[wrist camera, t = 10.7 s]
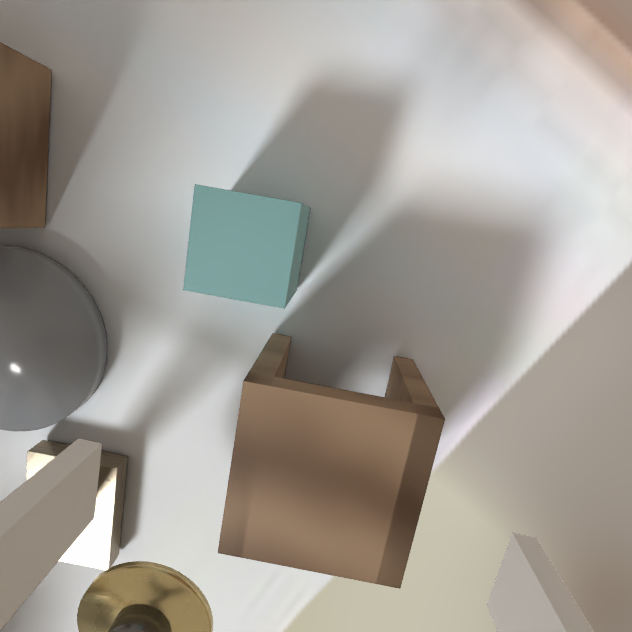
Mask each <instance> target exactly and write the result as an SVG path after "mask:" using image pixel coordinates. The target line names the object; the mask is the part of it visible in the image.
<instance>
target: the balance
mask: <svg viewBox="0 0 632 632" xmlns="http://www.w3.org/2000/svg"><path fill="white" fill-rule="evenodd" d="M68 446H70V445H66V444H61V443H56V442H51V441H46V440H42V441H41V442H40V443H38V444H37V445H35V446H34V447H33V448H31V449H30V450H29V451H28V456H27V480H28V479H29V478H31V477H32V476H33V475H34V474H35V473H37V472H38V471H39V470H40V469H42V468H43V467H44V466H45V465H46V464H48V463H49V462H50V461H51V460H53V459H54V458H55V457H56V456H57V455H59V454H60V453H61V452H62V451H64V450H65V449H66V448H67V447H68ZM127 462H128V456H123V455H118V454H113V453H108V452H103V451H101V458H100V468H99V478H98V488H97V498H96V508H95V518H94V519H93V520H92V522H91V523H90V524H89V525H88V526H87V528H86V529H85V530H84V531H83V532H82V533H81V535H80V536H79V537H78V538H77V539H76V541H75V542H74V543H73V544H72V545H71V547H70V548H69V549H68V550H67V551H66V553H65V554H64V555H63V556H62V557H61V559H60V560H59V561H62V562H67V563H73V564H78V565H83V566H88V567H93V568H98V569H103V570H106V571H104V572H103V573H101V574H100V575H99V576H98V577H97V578H96V579H95V580H94V581H93V583H92V584H91V585H90V587H89V588H88V590H87V591H86V593H85V594H84V596H83V598H82V599H81V601H80V605H79V608H78V614H77V623H78V630H79V632H212V631H213V616H212V612H211V608H210V606H209V603H208V601H207V599H206V598H205V596H204V594H203V593H202V592H201V590H200V589H199V588H198V587H197V586H196V585H195V584H194V583H193V582H192V581H191V580H190V579H189V578H187V577H186V576H184V575H183V574H181V573H180V572H178V571H176V570H174V569H172V568H170V567H167V566H164V565H161V564H157V563H152V562H142V561H136V562H127V563H122V564H119V565H116V566H113V567H111V566H112V564H113V563H114V561H115V560H116V558H117V557H118V555H119V548H120V538H121V527H122V516H123V505H124V494H125V483H126V473H127ZM110 567H111V568H110Z"/></svg>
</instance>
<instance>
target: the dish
mask: <svg viewBox="0 0 632 632" xmlns="http://www.w3.org/2000/svg"><path fill="white" fill-rule="evenodd" d="M106 358H107V340H106V332H105V328H104V324H103V320H102V318H101V315H100V313H99V310H98V308H97V306H96V304H95V302H94V300H93V298H92V297H91V295H90V294H89V293H88V291H87V290H86V288H85V287H84V286H83V285H82V283H81V282H80V281H79V280H78V279H77V278H76V277H75V276H74V275H73V274H72V273H71V272H70V271H68V270H67V269H66V268H65V267H63V266H62V265H61V264H59V263H58V262H56V261H55V260H53V259H51V258H49V257H47V256H45V255H43V254H41V253H38V252H36V251H33V250H29V249H25V248H22V247H15V246H0V429H2V430H9V431H30V430H37V429H41V428H45V427H48V426H50V425H53V424H55V423H57V422H59V421H61V420H62V419H64V418H66V417H67V416H69V415H70V414H71V413H73V412H74V411H76V410H77V409H78V408H79V407H81V406H82V405H83V404H84V403H85V402H86V401H87V400H88V399H89V398H90V397H91V396H92V394H93V393H94V391H95V390H96V388H97V387H98V385H99V383H100V380H101V378H102V376H103V372H104V369H105V365H106Z"/></svg>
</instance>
